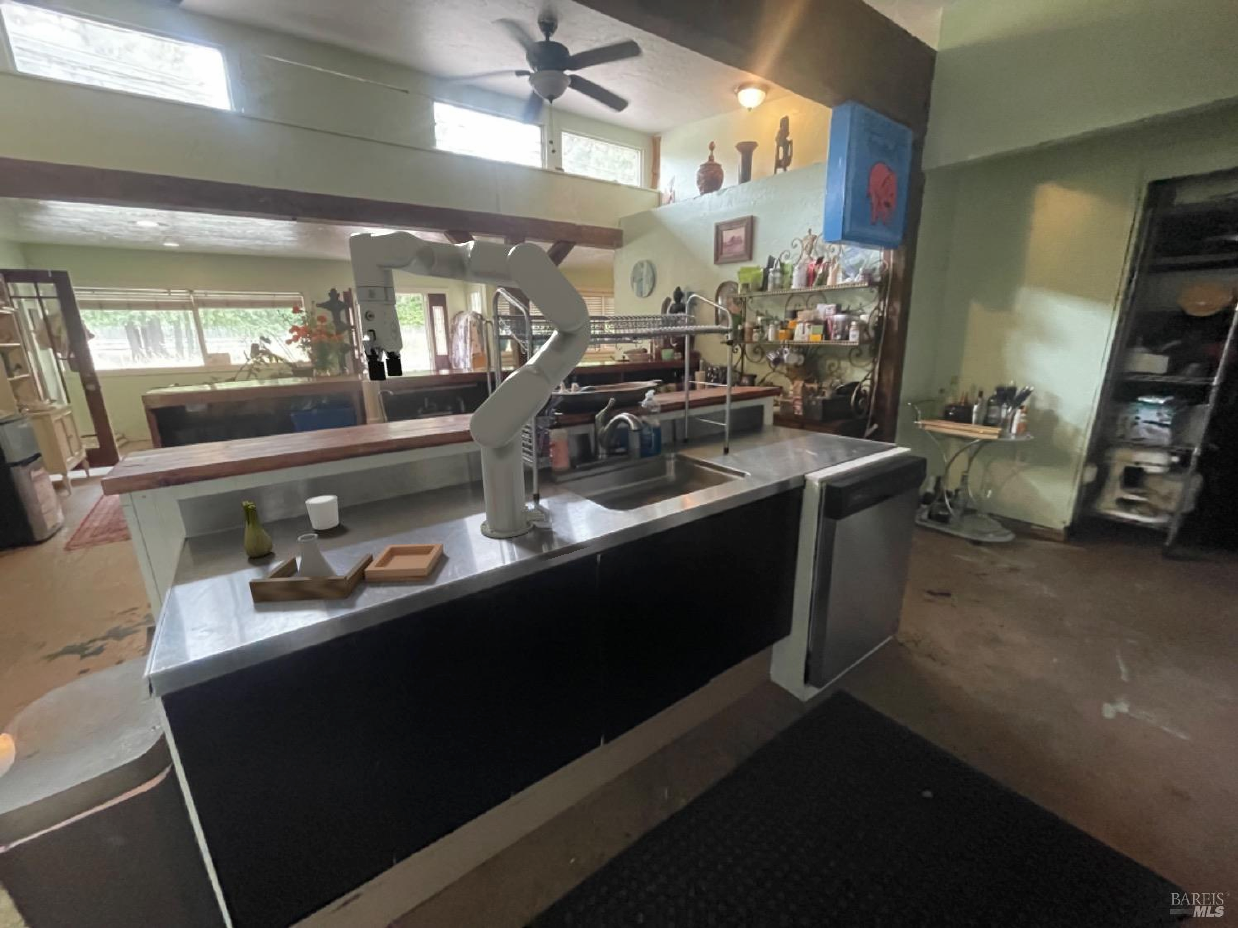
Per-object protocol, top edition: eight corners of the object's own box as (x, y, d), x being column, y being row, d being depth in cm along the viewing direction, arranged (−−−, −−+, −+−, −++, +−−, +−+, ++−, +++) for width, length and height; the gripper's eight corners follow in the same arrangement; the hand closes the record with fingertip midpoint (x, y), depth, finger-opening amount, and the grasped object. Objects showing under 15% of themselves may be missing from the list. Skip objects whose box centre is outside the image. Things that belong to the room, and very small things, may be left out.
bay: (374, 567, 102) (371, 549, 101) (346, 598, 90) (343, 578, 89) (292, 570, 101) (288, 552, 100) (253, 602, 89) (248, 582, 88)
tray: (443, 553, 108) (442, 543, 107) (427, 579, 97) (425, 568, 96) (389, 555, 107) (387, 544, 107) (366, 582, 96) (364, 570, 95)
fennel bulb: (250, 551, 110) (239, 500, 107) (276, 547, 112) (266, 496, 109) (243, 561, 105) (231, 508, 102) (271, 557, 107) (260, 505, 104)
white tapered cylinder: (327, 531, 120) (322, 504, 119) (303, 529, 122) (298, 502, 120) (347, 521, 127) (343, 495, 125) (324, 519, 128) (320, 493, 126)
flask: (307, 576, 98) (297, 530, 96) (344, 574, 99) (336, 528, 96) (286, 595, 92) (276, 546, 89) (327, 593, 92) (318, 544, 89)
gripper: (377, 294, 97) (389, 382, 102) (408, 299, 114) (417, 374, 119) (338, 294, 97) (352, 382, 101) (374, 299, 114) (385, 375, 118)
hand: (387, 378), depth 110 cm, fingers open, 9 cm apart
